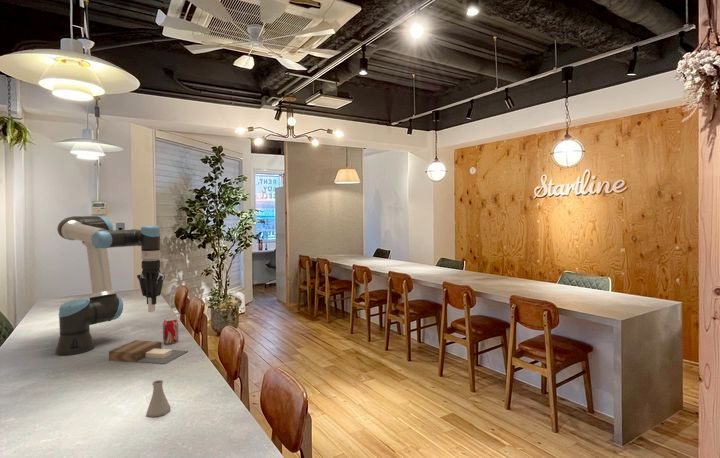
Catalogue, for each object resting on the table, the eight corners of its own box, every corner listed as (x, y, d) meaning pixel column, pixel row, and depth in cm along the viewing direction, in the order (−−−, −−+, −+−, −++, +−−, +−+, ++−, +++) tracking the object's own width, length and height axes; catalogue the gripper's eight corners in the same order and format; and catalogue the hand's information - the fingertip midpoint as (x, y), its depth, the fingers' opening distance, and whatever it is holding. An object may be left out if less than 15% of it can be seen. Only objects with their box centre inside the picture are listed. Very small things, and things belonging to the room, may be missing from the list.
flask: (151, 407, 133) (151, 377, 133) (174, 406, 134) (173, 376, 134) (141, 418, 126) (141, 387, 126) (165, 417, 127) (164, 386, 126)
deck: (109, 360, 177) (108, 351, 177) (135, 348, 193) (135, 340, 193) (136, 362, 175) (136, 353, 175) (161, 350, 190) (161, 341, 190)
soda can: (172, 345, 198) (172, 321, 197) (159, 344, 199) (159, 320, 199) (181, 340, 205) (181, 317, 204) (169, 340, 206) (168, 316, 206)
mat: (136, 362, 175) (136, 361, 175) (161, 350, 190) (161, 349, 190) (165, 364, 172) (165, 363, 172) (187, 351, 188) (187, 350, 188)
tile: (145, 357, 180) (145, 352, 180) (154, 352, 186) (154, 348, 185) (163, 358, 178) (163, 353, 178) (172, 353, 184) (171, 349, 184)
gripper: (132, 260, 178) (133, 312, 179) (158, 261, 176) (158, 314, 177) (144, 258, 186) (144, 308, 187) (169, 259, 183) (169, 310, 184)
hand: (151, 311), depth 182 cm, fingers closed
